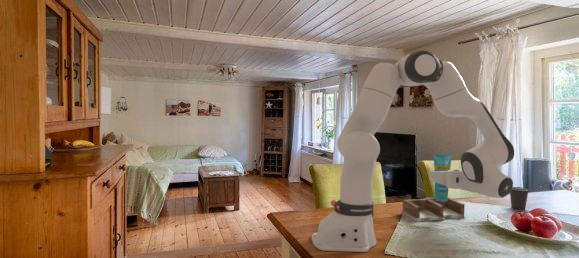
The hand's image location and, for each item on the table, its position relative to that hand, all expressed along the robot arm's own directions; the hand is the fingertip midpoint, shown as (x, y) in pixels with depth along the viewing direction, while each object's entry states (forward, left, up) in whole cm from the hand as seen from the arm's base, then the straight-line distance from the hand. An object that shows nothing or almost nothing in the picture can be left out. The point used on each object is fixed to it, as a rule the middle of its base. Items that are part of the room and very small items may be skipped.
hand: (440, 172), depth 134 cm
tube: (0, -1, -12) cm, 12 cm away
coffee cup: (+48, +12, -20) cm, 53 cm away
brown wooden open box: (-4, +6, -20) cm, 22 cm away
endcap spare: (+7, +8, -20) cm, 23 cm away
